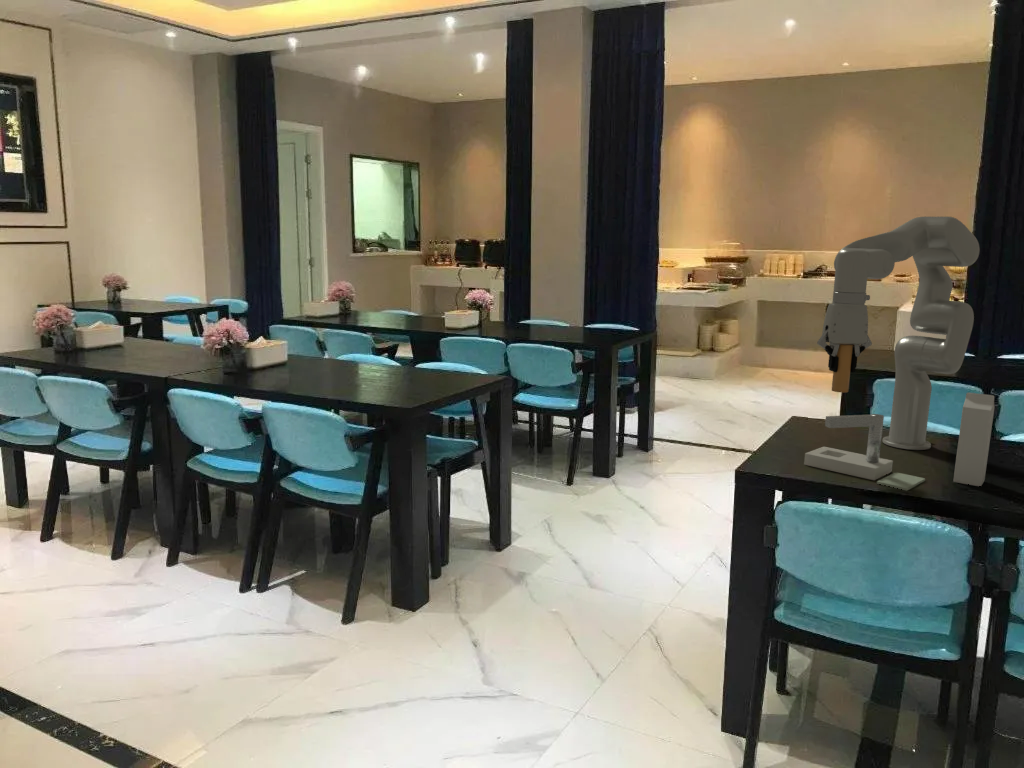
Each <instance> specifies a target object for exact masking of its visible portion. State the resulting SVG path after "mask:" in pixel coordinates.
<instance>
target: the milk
mask: <svg viewBox="0 0 1024 768" xmlns="http://www.w3.org/2000/svg"><path fill="white" fill-rule="evenodd" d="M965 394H966V395H965V399H964V403H963V406H962V411H961V420H960V426H959V434H958V443H957V449H956V457H955V466H954V473H953V481H952V482H953V483H959V484H963V485H968V484H969V486H975V487H979V486H981V487H982V485H983V484H984V482H985V479H986V471H987V464H988V456H989V451H990V445H991V444H990V441H991V436H992V429H993V427H992V426H993V421H994V414H995V395H993V394H986V393H984V394H983V393H976V392H966V393H965Z"/></svg>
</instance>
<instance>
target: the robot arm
mask: <svg viewBox="0 0 1024 768" xmlns="http://www.w3.org/2000/svg"><path fill="white" fill-rule="evenodd" d="M979 255H980V243H979V241H978V239H977V238H976V236H975V235H974V233H973V232H972V231H970V229H969V228H968V226H966V225H965V224H964V223H963V222H962V221H961V220H959V219H958V218H956V217H954V216H953V217H952V216H917V217H914V218H912V219H909V220H908V221H907V222H905V223H903V224H901V225H899V226H898V227H896V228H894V229H893V230H890V231H886V232H882V233H879V234H876V235H872V236H867V237H864V238H861V239H857V240H855V241H852V242H850V243H849V244H847V245H846V246H844V247H842V248H841V249H840V250H839V251H838V252H837V253H836V255H835V258H834V260H833V261H834V262H833V266H834V270H835V271H834V273H835V274H834V283H833V293H832V303H829V304H828V305H827V309H826V312H825V315H824V321H823V325H822V333H821V336H820V337H819V339H818V340H817V343H816V344H817V345H818V346H819V347H821V348H822V349H823V350H824V351H825V352H826V353H827V355H828V364H827V366H828V367H827V368H828V370H829V371H830V372H832V373H833V372H837V370H838V360H839V357H838V356H837V352H838V349H839V345H840V344H844V345H853V348H852V359H851V369H850V373H855V372H856V368H857V366H858V365H857V363H858V357H860V356H861V354H862V353H863V352H864V351H865V350H866V349H868V348H869V347H871V346H872V344H873V343H872V341H871V338H870V337H869V335H868V334H869V315H868V313H869V312H868V311H869V310H868V305H866V301H870V300H871V295H870V294H867V283H868V280H882V279H885V278H886V277H889V276H890V275H891V273H892V272H893V271H894V268H895V263H899V262H903V261H906V260H908V259H910V258H911V257H912V259H913V261H914V264H915V266H916V267H915V268H916V270H917V273H918V279H919V281H918V287H917V291H916V295H915V297H914V302H913V306H912V309H911V313H910V317H909V324H910V325H909V326H910V328H912V329H913V330H914V331H917V332H920V333H925V334H934V335H942V336H945V338H939V337H938V338H937V337H932V336H931V337H930V336H923V335H907V336H904V337H903V336H902V337H901V338H899V340H897V342H896V344H895V345H894V346H895V347H894V364H895V378H894V379H895V380H894V389H893V397H892V404H891V405H892V406H891V414H890V415H891V416H890V424H889V425H890V426H889V433H888V435H887V436H883V438H882V443H883V444H885V445H887V446H888V447H893V448H897V449H902V450H911V451H923V450H925V451H926V450H930V449H931V446H932V444H931V442H930V441H928V440H926V438H927V430H928V420H929V412H930V404H931V396H932V388H933V387H932V381H931V379H930V377H929V375H928V374H927V373H928V372H929V373H935V374H936V373H937V374H944V375H953V374H955V373H957V372H958V371H959V370H960V369H961V368H962V367H961V366H962V364H963V362H964V359H965V357H966V356H965V355H966V352H967V349H968V345H969V342H970V338H971V335H972V331H973V327H974V321H975V319H974V318H975V316H974V315H975V313H974V310H973V308H972V306H971V305H970V304H969V303H967V302H963V301H957V300H956V301H955V300H950V298H951V294H952V291H953V287H954V286H953V284H954V283H953V281H952V278H951V276H950V275H949V273H948V271H947V270H946V268H945V267H959V268H965V267H970V266H972V265H973V264H974V263H976V261H977V260H978V258H979ZM828 343H829V344H828Z"/></svg>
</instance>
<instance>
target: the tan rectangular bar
mask: <svg viewBox="0 0 1024 768" xmlns="http://www.w3.org/2000/svg"><path fill="white" fill-rule="evenodd" d="M852 348H853V345H844V344H840V345H839V349H838V352H837V356H838V357H839V360H838V370H837V372H833V371H832V380H831V381H832V383H831V392H835V393H848V392H849V389H850V379H851V378H850V377H851V372H850V369H851V359H852Z"/></svg>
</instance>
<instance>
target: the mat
mask: <svg viewBox="0 0 1024 768" xmlns="http://www.w3.org/2000/svg"><path fill="white" fill-rule="evenodd" d="M925 481H926V478H924V477H919V476H915V475H910V474H907V473H901V472H896V471H895V472H892V473H891V474H890V475H889V474H888V475H887V476H885V477H882V478H880V479H878V480H877V481H876V484H877V485H879V484H881V485H880V486H884V485H886V486H885V487H888V486H890V487H889V488H893V487H894V488H893V489H897V488H898V489H897V490H901V489H902V491H907V492H908V491H909V490H911V489H913V488H915V487H917V486H918V485H920V484H922V483H924V482H925Z"/></svg>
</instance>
